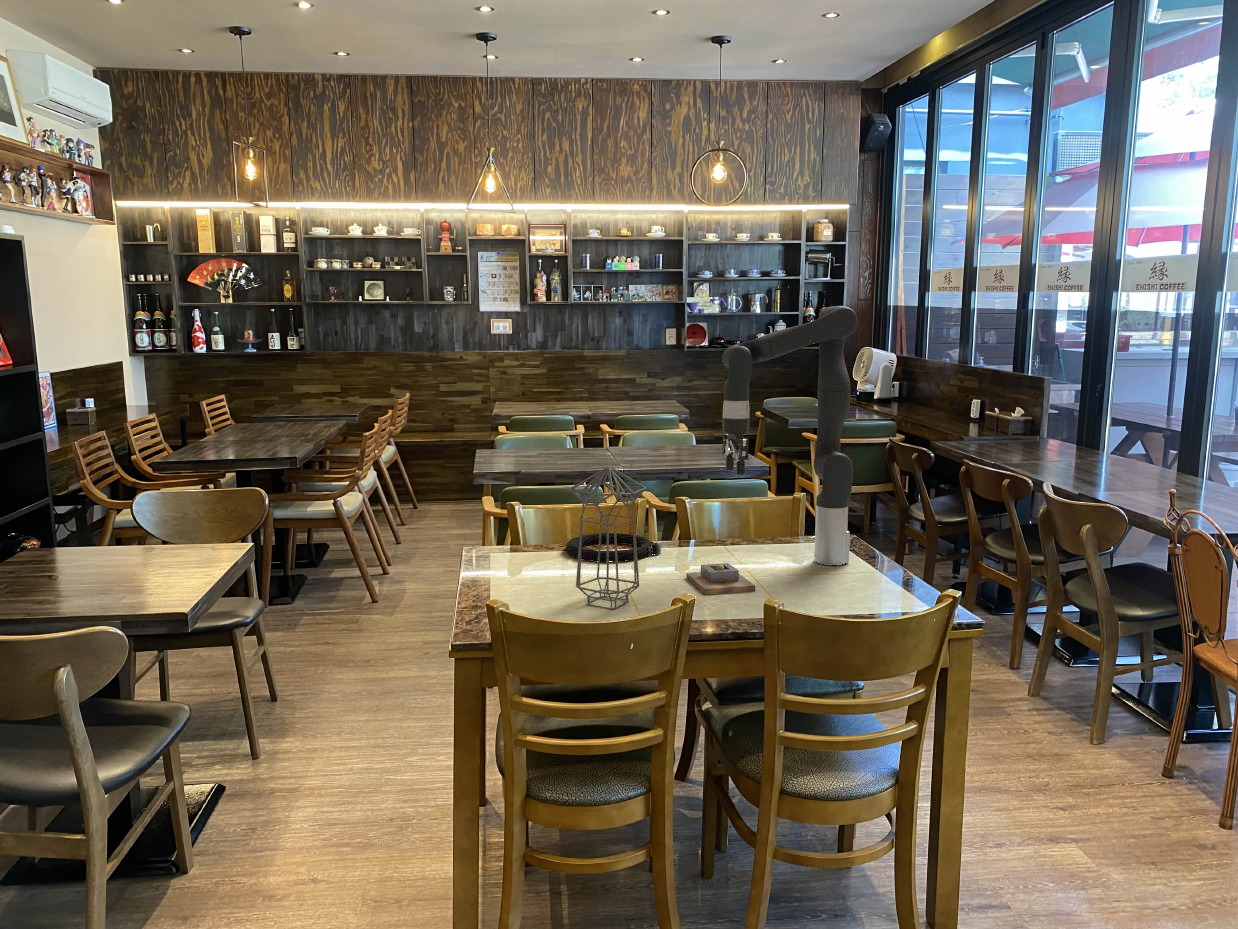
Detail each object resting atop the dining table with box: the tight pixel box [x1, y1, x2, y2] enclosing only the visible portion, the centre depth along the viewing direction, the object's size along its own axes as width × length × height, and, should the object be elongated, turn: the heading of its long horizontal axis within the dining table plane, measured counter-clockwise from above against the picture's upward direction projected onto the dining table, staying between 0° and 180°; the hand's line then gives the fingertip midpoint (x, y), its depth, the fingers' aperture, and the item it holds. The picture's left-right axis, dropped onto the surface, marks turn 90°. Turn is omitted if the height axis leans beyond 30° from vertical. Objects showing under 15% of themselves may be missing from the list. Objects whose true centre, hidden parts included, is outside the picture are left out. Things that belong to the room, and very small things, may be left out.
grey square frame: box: [700, 562, 740, 583], centre depth 243 cm, size 8×8×3 cm
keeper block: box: [685, 563, 756, 595], centre depth 242 cm, size 14×16×6 cm
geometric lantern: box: [568, 466, 649, 610], centre depth 224 cm, size 16×16×35 cm
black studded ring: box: [565, 532, 662, 562], centre depth 278 cm, size 28×4×30 cm
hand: (734, 472), depth 256 cm, fingers open, 8 cm apart
